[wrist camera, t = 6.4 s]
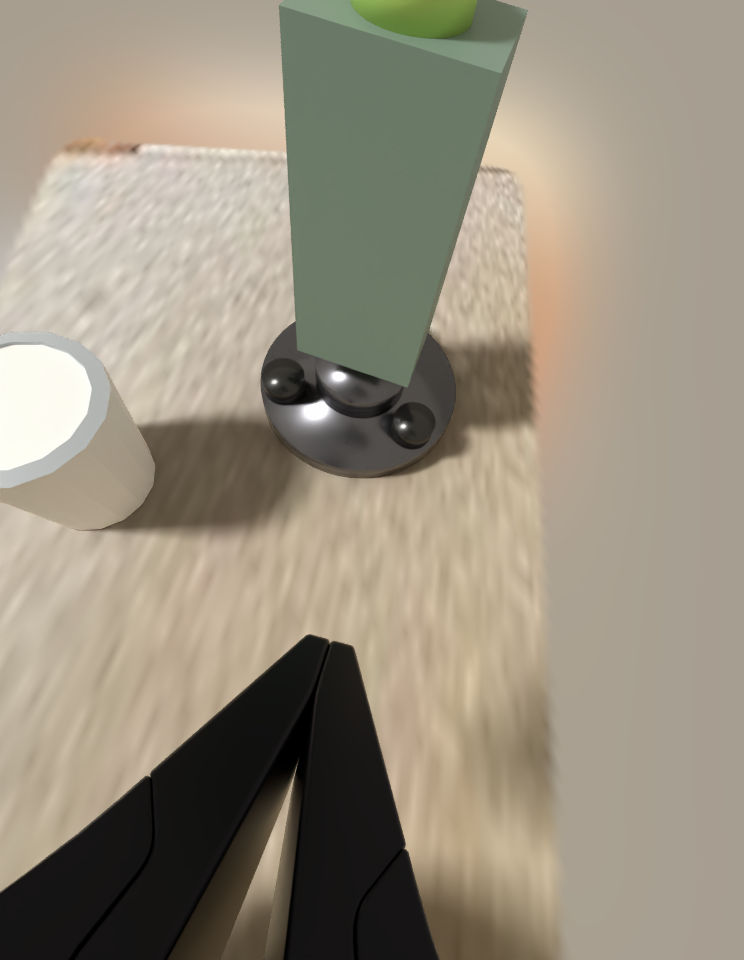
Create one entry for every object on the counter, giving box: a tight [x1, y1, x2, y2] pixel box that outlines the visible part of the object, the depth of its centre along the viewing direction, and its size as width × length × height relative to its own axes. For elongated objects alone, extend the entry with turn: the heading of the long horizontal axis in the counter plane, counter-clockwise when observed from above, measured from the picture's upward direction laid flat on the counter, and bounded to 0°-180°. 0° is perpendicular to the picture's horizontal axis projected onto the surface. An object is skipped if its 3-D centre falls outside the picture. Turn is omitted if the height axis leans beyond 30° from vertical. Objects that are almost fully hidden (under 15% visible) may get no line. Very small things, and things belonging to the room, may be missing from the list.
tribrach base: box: [261, 321, 456, 478], centre depth 25 cm, size 11×11×3 cm
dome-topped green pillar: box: [279, 0, 528, 388], centre depth 17 cm, size 6×6×15 cm
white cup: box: [0, 332, 155, 530], centre depth 20 cm, size 7×7×7 cm
